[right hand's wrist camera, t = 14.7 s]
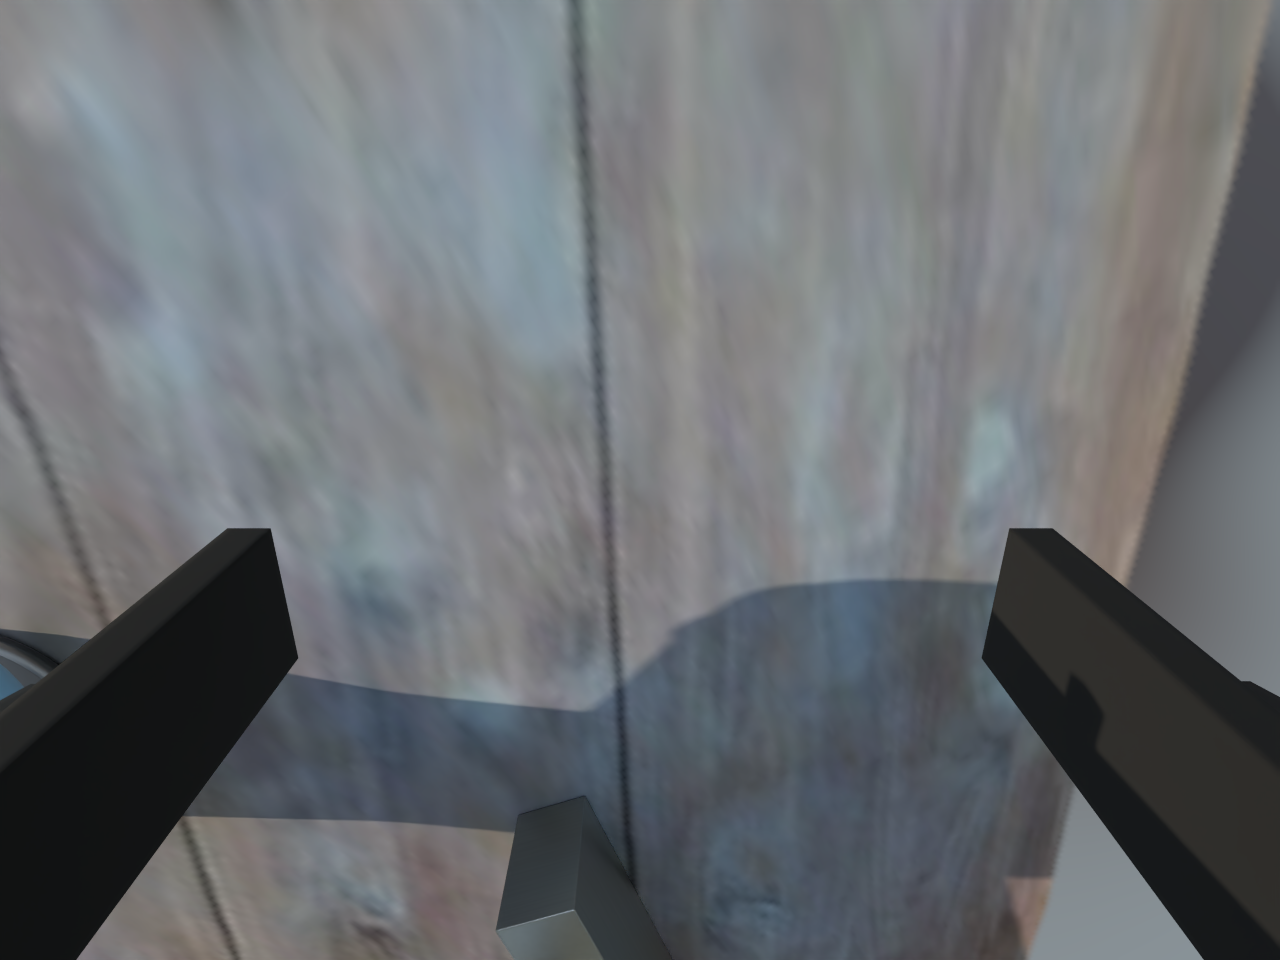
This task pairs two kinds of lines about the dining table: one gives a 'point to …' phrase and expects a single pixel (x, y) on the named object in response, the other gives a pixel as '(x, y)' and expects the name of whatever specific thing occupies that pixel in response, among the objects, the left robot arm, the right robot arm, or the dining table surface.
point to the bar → (571, 893)
